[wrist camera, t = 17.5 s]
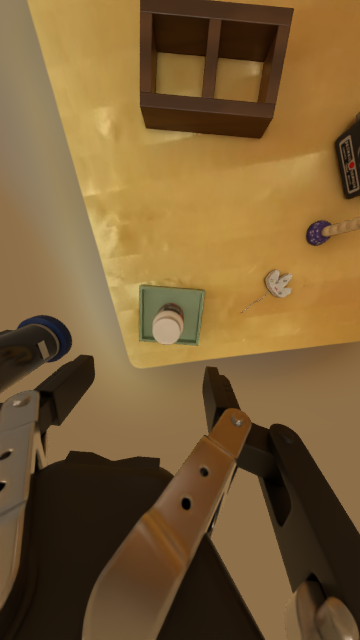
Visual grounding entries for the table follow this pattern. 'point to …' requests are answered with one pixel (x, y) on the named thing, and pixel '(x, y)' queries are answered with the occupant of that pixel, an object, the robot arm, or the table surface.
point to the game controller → (277, 284)
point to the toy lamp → (329, 230)
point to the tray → (183, 297)
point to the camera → (350, 159)
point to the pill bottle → (168, 324)
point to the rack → (212, 62)
